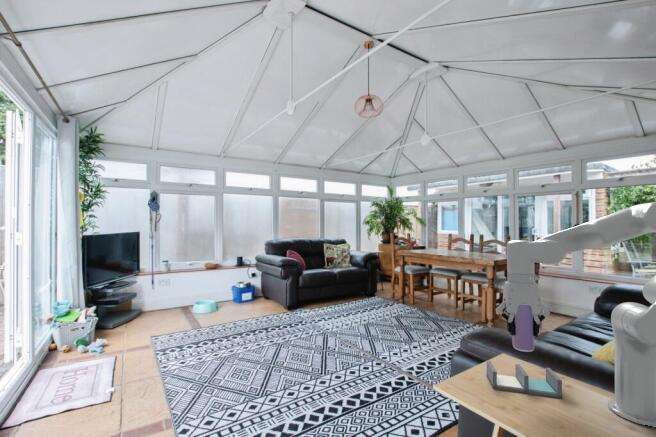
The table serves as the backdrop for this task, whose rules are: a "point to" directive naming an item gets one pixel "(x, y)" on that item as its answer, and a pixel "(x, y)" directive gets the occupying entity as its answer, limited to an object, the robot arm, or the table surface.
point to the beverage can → (523, 329)
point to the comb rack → (525, 382)
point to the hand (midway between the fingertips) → (523, 334)
